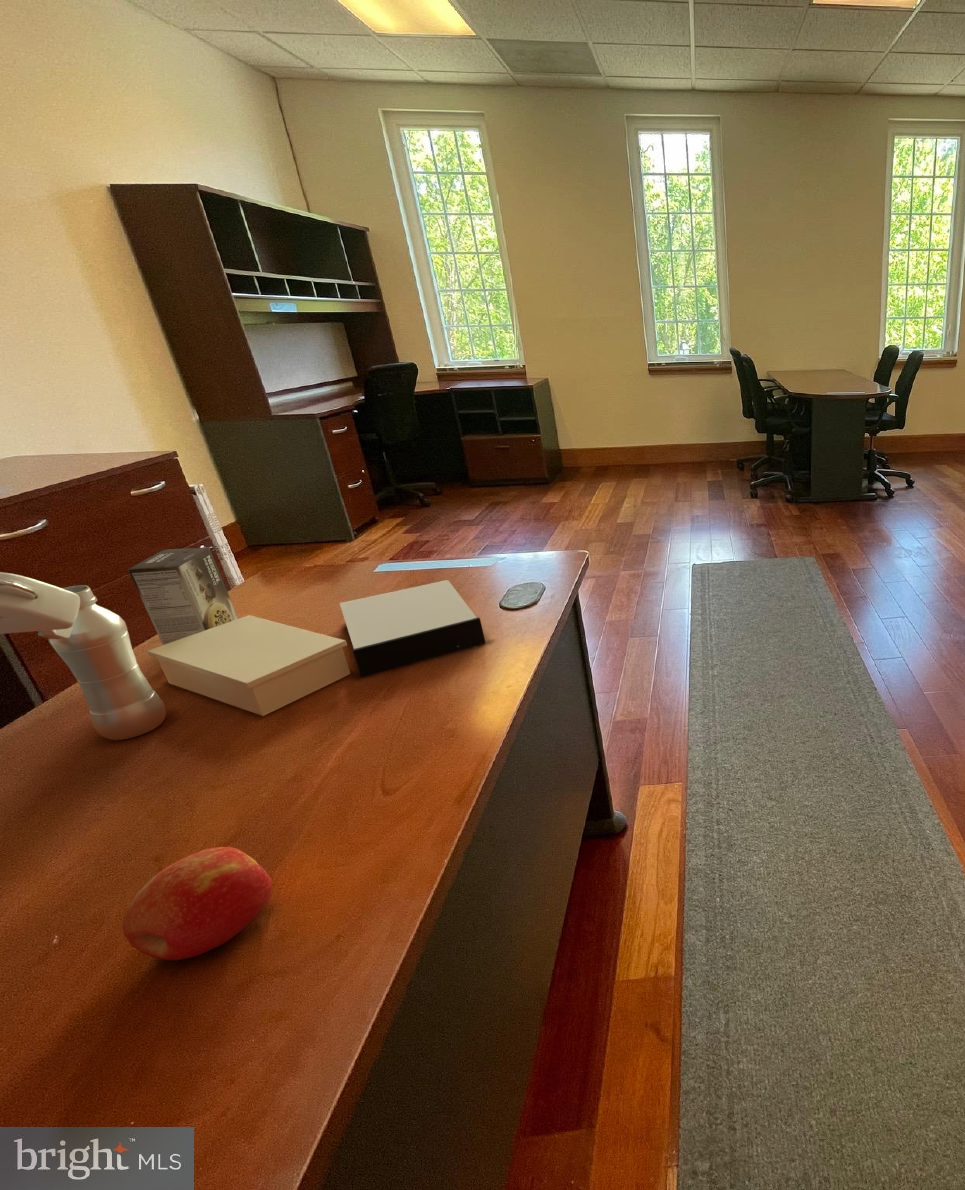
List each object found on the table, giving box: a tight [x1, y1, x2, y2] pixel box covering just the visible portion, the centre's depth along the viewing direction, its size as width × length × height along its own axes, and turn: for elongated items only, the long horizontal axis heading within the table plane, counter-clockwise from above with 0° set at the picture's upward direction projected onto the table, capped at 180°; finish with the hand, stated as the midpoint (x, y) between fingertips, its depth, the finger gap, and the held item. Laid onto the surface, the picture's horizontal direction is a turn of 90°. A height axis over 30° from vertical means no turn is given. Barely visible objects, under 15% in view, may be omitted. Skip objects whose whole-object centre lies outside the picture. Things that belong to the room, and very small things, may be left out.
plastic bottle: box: [47, 584, 167, 741], centre depth 76 cm, size 6×7×20 cm
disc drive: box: [339, 579, 486, 678], centre depth 104 cm, size 18×22×5 cm
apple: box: [122, 846, 273, 961], centre depth 52 cm, size 8×8×8 cm
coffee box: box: [127, 546, 239, 645], centre depth 97 cm, size 9×6×16 cm
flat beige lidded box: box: [147, 614, 351, 717], centre depth 90 cm, size 23×13×6 cm, turn 68°
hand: (9, 636), depth 65 cm, fingers open, 8 cm apart
